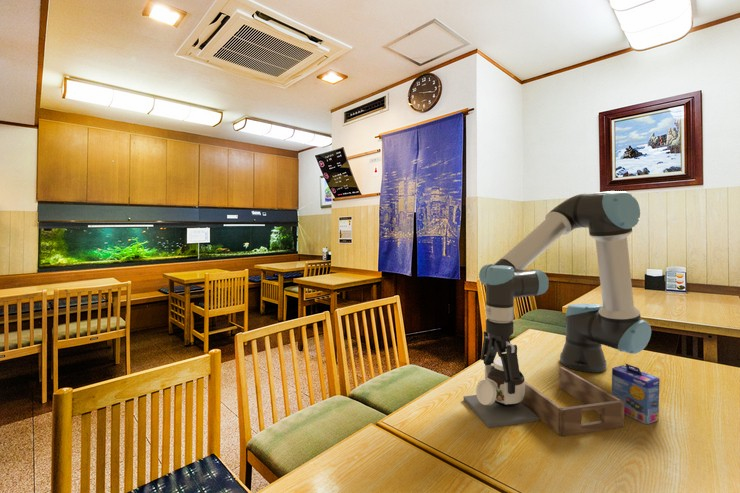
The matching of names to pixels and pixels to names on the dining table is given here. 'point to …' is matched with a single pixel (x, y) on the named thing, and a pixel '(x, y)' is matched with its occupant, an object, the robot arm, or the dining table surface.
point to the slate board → (500, 413)
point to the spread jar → (498, 387)
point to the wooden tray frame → (571, 417)
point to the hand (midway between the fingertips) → (498, 394)
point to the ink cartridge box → (637, 393)
